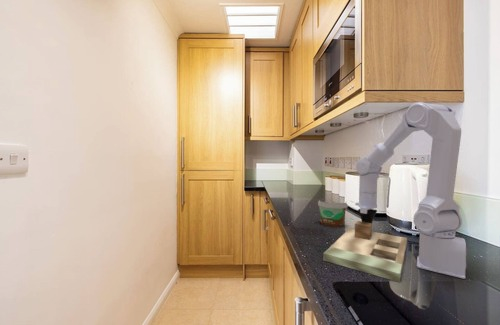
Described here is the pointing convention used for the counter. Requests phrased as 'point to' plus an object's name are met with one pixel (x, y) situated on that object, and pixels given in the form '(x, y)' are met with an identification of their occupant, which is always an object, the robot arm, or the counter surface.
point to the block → (363, 230)
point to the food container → (332, 213)
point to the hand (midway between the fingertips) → (367, 229)
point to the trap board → (369, 254)
